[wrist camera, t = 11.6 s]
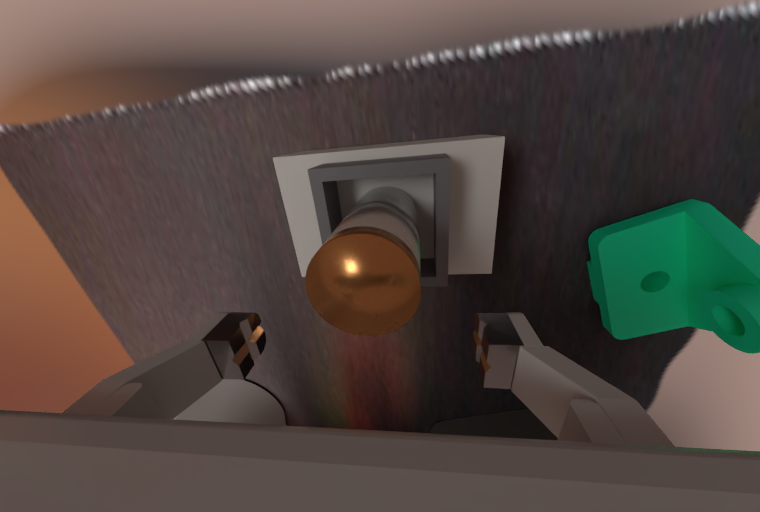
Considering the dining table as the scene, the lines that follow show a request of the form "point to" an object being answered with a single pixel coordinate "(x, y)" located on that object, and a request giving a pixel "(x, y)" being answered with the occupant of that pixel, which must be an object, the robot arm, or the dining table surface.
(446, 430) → the handheld gaming console
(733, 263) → the camera mount
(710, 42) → the dining table surface
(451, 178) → the grey pedestal block
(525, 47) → the dining table surface
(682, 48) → the dining table surface
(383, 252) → the glass jar
